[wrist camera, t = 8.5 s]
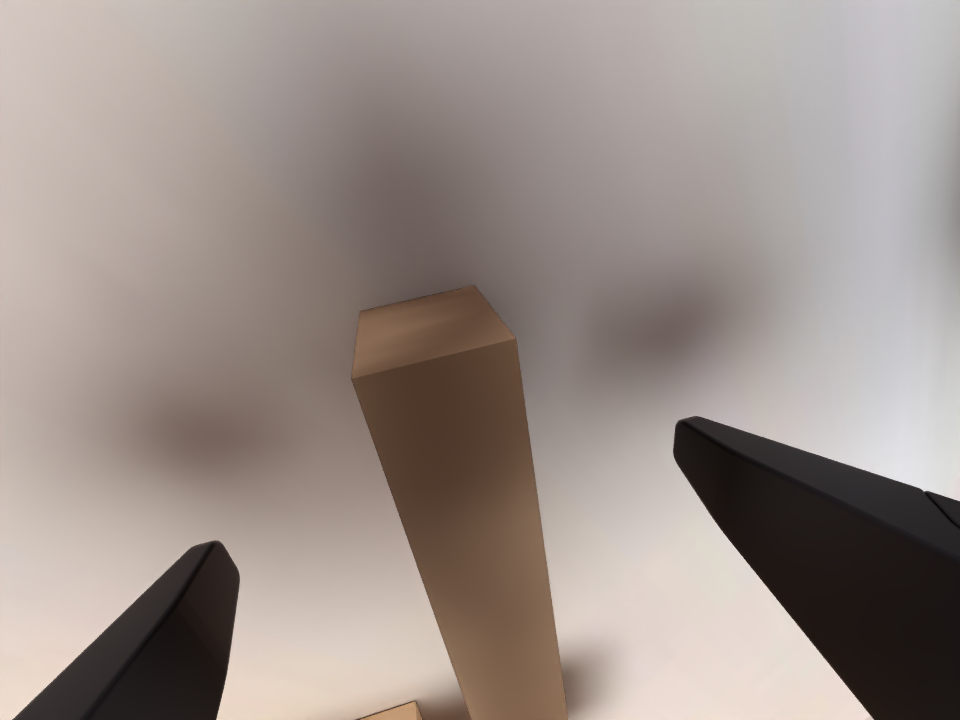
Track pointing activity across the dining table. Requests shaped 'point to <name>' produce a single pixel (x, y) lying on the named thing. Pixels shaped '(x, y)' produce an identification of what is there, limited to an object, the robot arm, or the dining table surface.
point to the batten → (466, 492)
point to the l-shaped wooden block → (398, 713)
